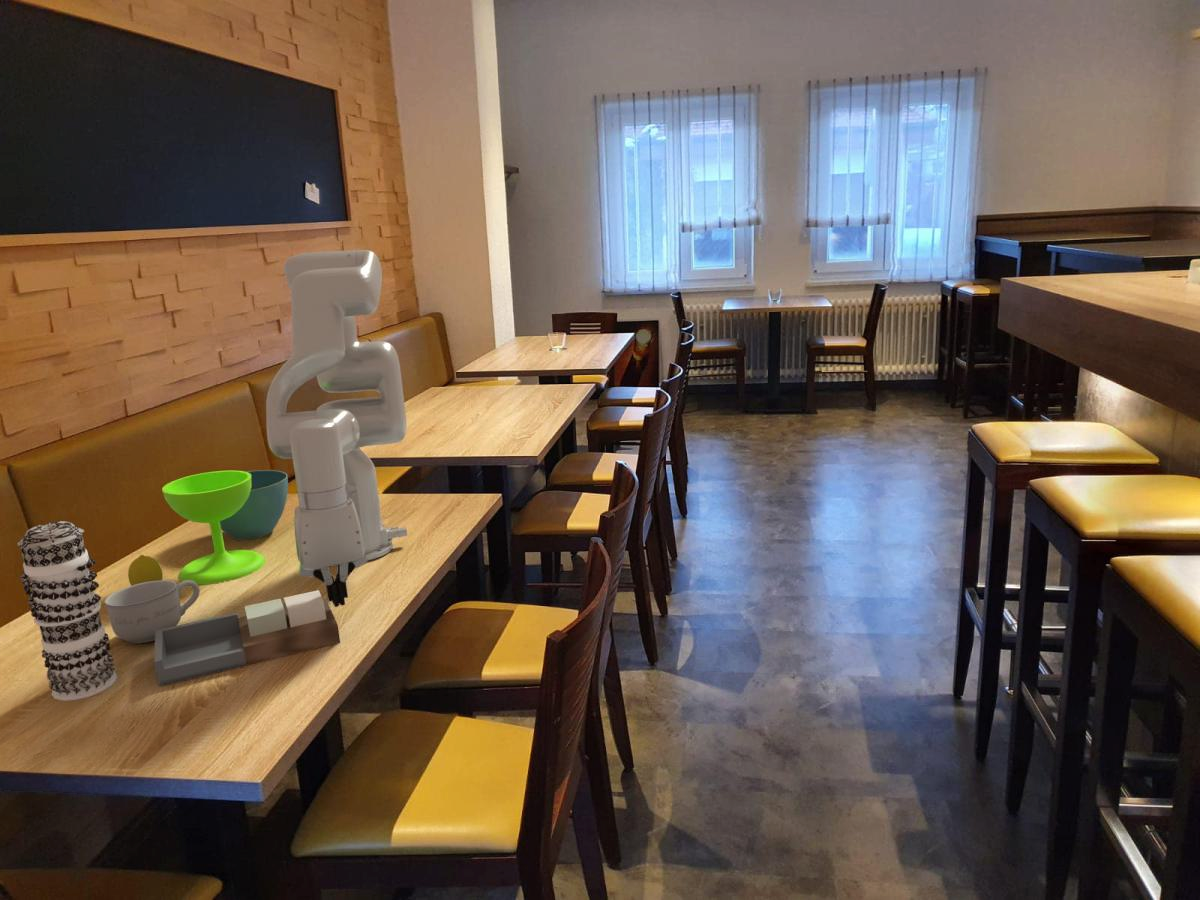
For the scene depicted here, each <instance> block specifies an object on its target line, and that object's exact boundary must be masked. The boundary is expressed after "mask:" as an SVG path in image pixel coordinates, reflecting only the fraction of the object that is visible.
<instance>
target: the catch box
mask: <svg viewBox="0 0 1200 900" xmlns="http://www.w3.org/2000/svg"><path fill="white" fill-rule="evenodd" d="M238 618H239V615H238V611H237V612H231V613H226V614H223V615H218V616H213V617H210V618H205V619H201V620H195V621H192V622H191V621H190V622H186V623H183V624H182V623H181V624H177V625H176V626H172V627H168V628H163V629H158V630H155V640H154V655H153V657H154V659H153V660H154V667H155V671H156V676H157V682H158V687H159V688H160V687H163V686H167V685H172V684H175V683H180V682H184V681H188V680H191V679H196V678H199V677H200V678H201V677H204V676H209V675H212V674H213V675H214V674H216V673H217V674H218V673H220V672H225V671H229V670H232V669H237V668H240V667H241V668H242V667H246V666H247V665H246V659H245V654H244V648H243V643H242V638H241V633H240V627H239V621H238Z"/></svg>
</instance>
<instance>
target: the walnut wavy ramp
mask: <svg viewBox="0 0 1200 900" xmlns="http://www.w3.org/2000/svg"><path fill="white" fill-rule="evenodd" d="M322 599H323V601H324V606H325V613H326V619H325V620H321V621H317V622H312V623H308V624H304V625H299V626H295V627H290V624H289V621H288V617H287V614H286V608H285V606H283V607H284V610H285V616H286V623H287V628H286V629H282V630H278V631H274V632H269V633H265V634H261V635H256V636H252V637H250V633H249V628H248V623H247V617H246V615H244V616H240V617H239V616H238V621H239V627H240V633H241V638H242V643H243V648H244V654H245V659H246V666H249V665H252V664H256V663H262V662H265V661H269V660H274V659H278V658H282V657H286V656H289V655H295V654H298V653H302V651H303V652H306V650H307V651H310V649H311V650H314V648H315V649H318V648H323V647H326V646H330V644H331V645H334V644H339V643H341V637H340V630H339V624H338V622H337V620H336V618H335V616H334V614H333V612H332V609H331V606H330V604H329V601H328V599H327V598H326V597H325V598H322Z"/></svg>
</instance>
